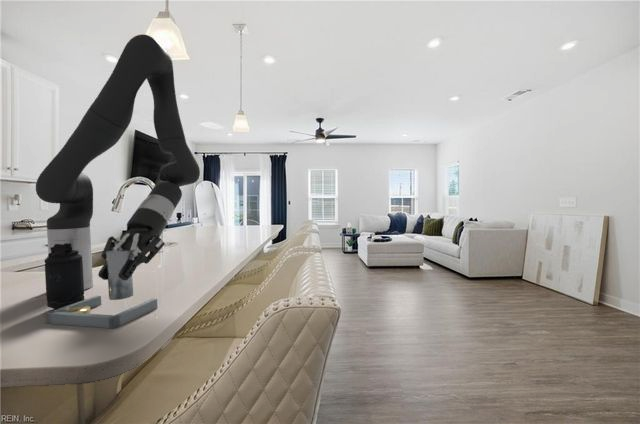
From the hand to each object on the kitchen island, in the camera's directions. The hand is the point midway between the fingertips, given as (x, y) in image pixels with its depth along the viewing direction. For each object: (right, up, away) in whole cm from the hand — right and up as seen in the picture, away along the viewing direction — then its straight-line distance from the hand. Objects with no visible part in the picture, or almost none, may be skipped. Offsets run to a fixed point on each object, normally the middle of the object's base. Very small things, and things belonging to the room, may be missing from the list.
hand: (112, 277), depth 63 cm
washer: (-7, -8, 0) cm, 11 cm away
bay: (-2, -8, +2) cm, 9 cm away
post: (+1, -4, +2) cm, 5 cm away
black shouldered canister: (-15, -8, +6) cm, 18 cm away
